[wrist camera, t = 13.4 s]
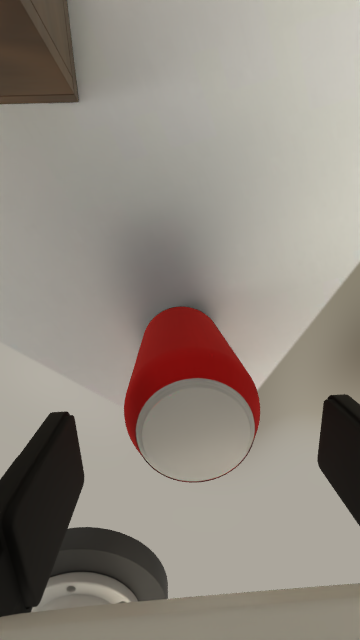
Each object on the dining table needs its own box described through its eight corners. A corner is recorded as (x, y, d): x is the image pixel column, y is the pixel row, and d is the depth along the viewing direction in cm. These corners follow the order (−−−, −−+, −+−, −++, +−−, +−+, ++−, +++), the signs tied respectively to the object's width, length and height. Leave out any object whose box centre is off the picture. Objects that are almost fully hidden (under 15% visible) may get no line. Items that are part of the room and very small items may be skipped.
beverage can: (176, 288, 21) (188, 330, 9) (232, 336, 22) (306, 426, 10) (128, 344, 22) (84, 446, 10) (185, 387, 23) (203, 523, 11)
